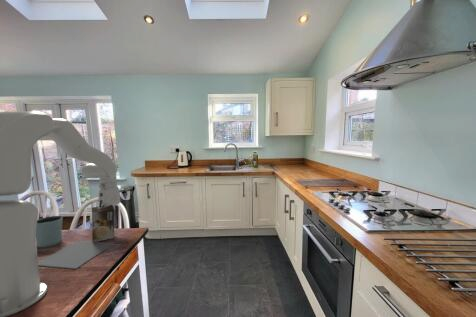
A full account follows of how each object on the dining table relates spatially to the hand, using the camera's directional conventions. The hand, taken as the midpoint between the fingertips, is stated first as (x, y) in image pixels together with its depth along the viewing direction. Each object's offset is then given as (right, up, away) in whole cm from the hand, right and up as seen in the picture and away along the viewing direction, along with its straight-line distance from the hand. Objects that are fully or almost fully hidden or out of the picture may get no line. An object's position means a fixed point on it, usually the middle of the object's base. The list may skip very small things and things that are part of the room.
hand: (110, 218), depth 102 cm
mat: (-2, -10, -18) cm, 21 cm away
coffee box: (-1, -8, -5) cm, 10 cm away
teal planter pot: (-24, -10, -8) cm, 27 cm away
